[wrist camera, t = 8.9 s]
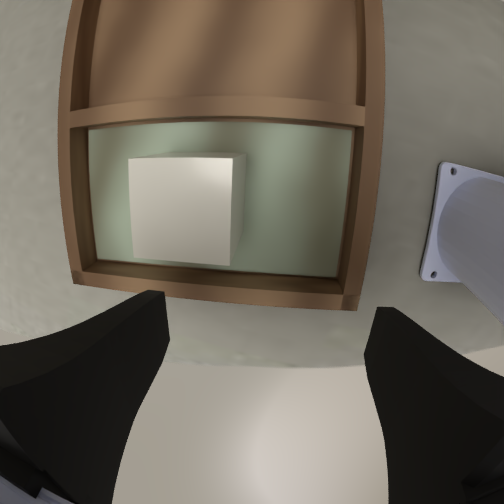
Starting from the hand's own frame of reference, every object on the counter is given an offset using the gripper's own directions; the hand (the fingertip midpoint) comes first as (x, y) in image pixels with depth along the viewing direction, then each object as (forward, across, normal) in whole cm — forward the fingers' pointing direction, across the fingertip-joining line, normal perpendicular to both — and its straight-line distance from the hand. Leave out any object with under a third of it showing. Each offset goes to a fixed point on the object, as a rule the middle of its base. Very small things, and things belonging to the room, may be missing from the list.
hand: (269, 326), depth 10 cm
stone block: (+8, +4, -3) cm, 10 cm away
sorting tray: (+9, +4, -8) cm, 13 cm away
